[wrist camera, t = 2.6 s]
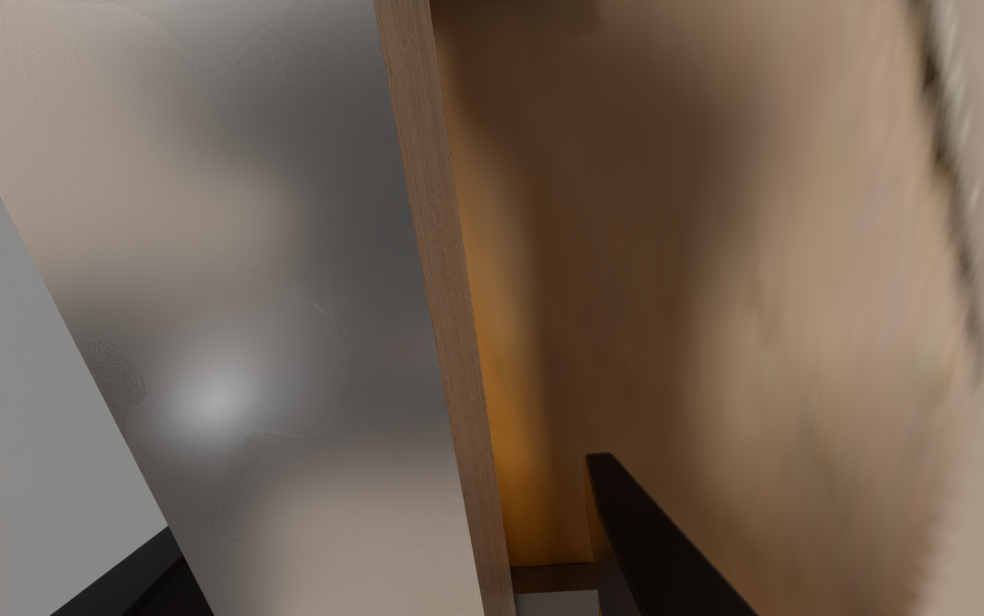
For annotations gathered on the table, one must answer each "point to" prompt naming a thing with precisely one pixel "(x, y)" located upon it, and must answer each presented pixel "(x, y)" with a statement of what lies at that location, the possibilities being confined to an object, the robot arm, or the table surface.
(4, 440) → the mat
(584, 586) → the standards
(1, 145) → the rail
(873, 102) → the table surface
